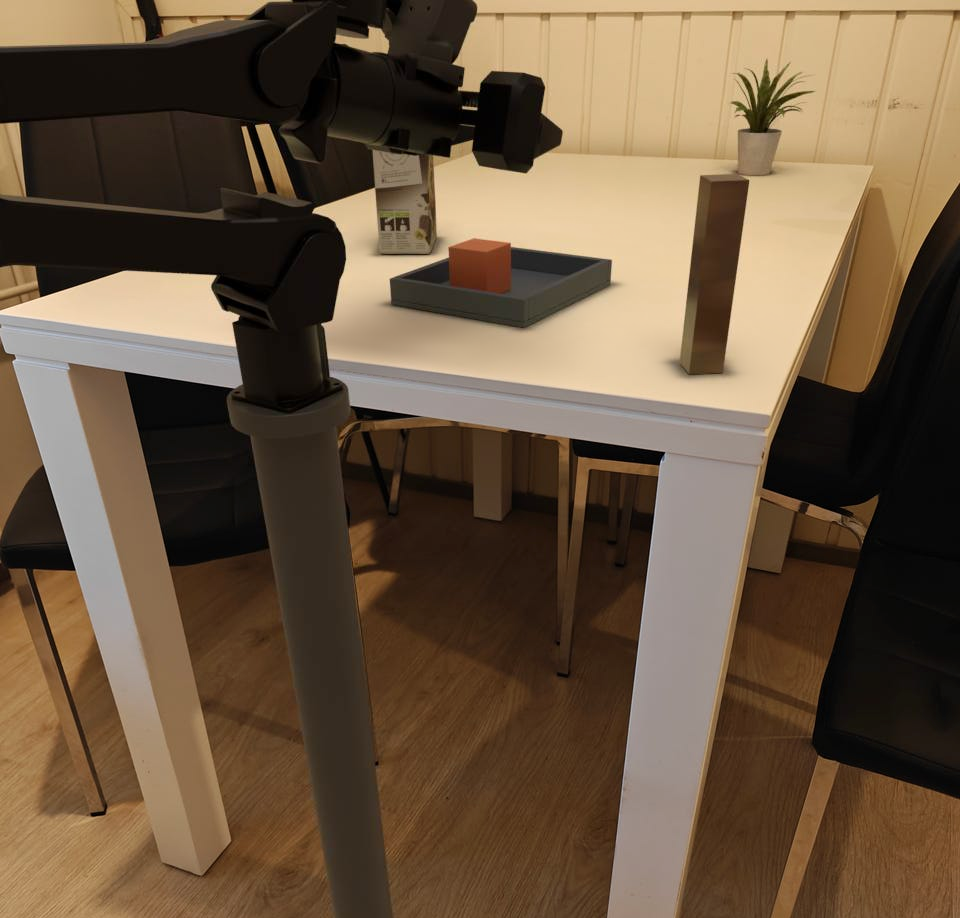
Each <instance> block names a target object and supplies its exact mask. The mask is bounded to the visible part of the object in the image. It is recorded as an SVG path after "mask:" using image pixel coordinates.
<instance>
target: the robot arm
mask: <svg viewBox="0 0 960 918" xmlns="http://www.w3.org/2000/svg"><path fill="white" fill-rule="evenodd" d="M477 13H478V4H477V3H476V2H475V0H287V1H268V2H266V3H265V4H263V5H262V6H261V7H259V8H258V9H256V10H254V12H252V13H251V14H249V15H248V16H246V17H244V19H222V20H215V21H211V22H207V23H203V24H199V25H196V26H192V27H187V28H184V29H181V30H178V31H173V32H172V33H169V34H166V35H164V36H161V37H158V38H154V39H151V40H146V41H143V42H116V43H111V42H110V43H79V44H41V45H40V44H39V45H5V46H2V45H1V46H0V125H1V124H2V125H4V124H19V123H31V122H32V123H33V122H44V121H46V122H47V121H59V120H72V119H73V120H74V119H86V118H87V119H88V118H100V117H114V116H115V117H116V116H127V115H129V116H130V115H143V114H144V115H145V114H156V113H157V114H158V113H159V114H160V113H171V112H181V113H188V114H195V115H201V116H209V117H216V118H222V119H230V120H237V121H245V122H252V123H259V124H264V125H265V124H266V125H273V126H280V127H279V128H278V133H279V135H280V136H281V137H282V138H283V139H284V141H285V142H286V145H287V147H288V150H289V152H290V153H291V156H292V158H293V159H295V160H299V161H304V162H310V163H315V164H323V163H325V162H326V160H327V149H328V147H327V146H328V137H331V138H337V139H342V140H347V141H352V142H358V143H360V144H364V145H365V146H366V147H365V148H367V150H370V151H372V150H376V151H381V152H387V153H394V154H400V155H403V154H406V155H413V156H417V155H421V154H426V155H433V157H434V156H435V157H442V158H447V159H451V154H452V153H451V152H452V147H453V146H457V145H460V144H465V143H468V142H470V141H472V146H471V152H472V154H473V157H474V158H475V161H476V163H477V166H478V167H483V168H489V169H494V170H500V171H506V172H511V173H519V174H528V173H529V172H530V170H531V169H532V168H533V167H534V162H535V160H536V159H538V158H539V157H541V156H543V155H545V154H546V153H548V152H550V151H552V150H555V149H556V148H558V147H560V146H561V145H562V141H563V139H562V138H563V135H564V134H563V133H564V131H563V129H562V128H560V126H558V125H557V124H556V123H554V122H553V121H552V120H551V119H550V118H548V116H546V115H545V114H544V113H542V111H543V105H544V98H545V92H546V86H545V82H544V81H543V79H542V77H540V76H537V75H533V74H530V73H526V72H524V71H523V72H520V71H504V70H491V71H490V72H489V73H488V74H487V75H486V76H485V77H484V78H483V79H482V80H481V82H480V83H479V90H478V91H473V90H472V91H471V90H459V88H463V85H464V78H465V71H466V68H465V67H464V66H462V65H461V66H460V65H457V64H454V63H455V62H456V61H457V59H458V57H459V56H460V53H461V50H462V47H463V45H464V43H465V40H466V38H467V35H468V32H469V29H470V27H471V24H472V23H474V22H475V20H476V17H477ZM370 28H372V29H380V30H381V32H382V34H383V35H384V38H385V39H386V40H387V41H388V50H387V52H386V53H385V52H381V51H368V50H363V49H360V48H356V47H353V46H349V45H345V44H341V43H337V42H336V39H337V36H341V37H347V38H353V39H363V40H366V39H369V37H370ZM463 107H464V108H463ZM468 108H475V109H468ZM219 192H220V198H221V206H222V208H219V209H215V210H211V211H207V212H199V213H198V212H188V211H187V212H185V211H177V210H167V209H166V210H165V209H157V208H144V207H136V206H124V205H115V204H114V205H113V204H104V203H94V202H84V201H83V202H82V201H73V200H64V199H54V198H53V199H52V198H44V197H43V198H42V197H31V196H22V195H21V196H20V195H13V194H11V195H10V194H2V193H1V194H0V269H1V268H5V267H11V266H12V267H13V266H21V267H22V266H24V267H25V266H27V267H42V268H43V267H45V268H61V269H62V268H64V269H82V270H83V269H84V270H100V271H101V270H102V271H103V270H104V271H120V272H121V271H123V272H141V273H142V272H144V273H162V274H163V273H164V274H181V275H182V274H183V275H198V276H199V275H201V276H202V275H203V276H215V278H213V281H212V282H211V283H210V284H211V285H210V288H211V291H212V293H213V295H214V297H215V299H216V300H217V302H218V304H219V306H220V308H221V310H222V311H224V312H228V313H232V314H235V315H237V316H238V317H237V318H238V319H237V320H235V321H232V322H231V324H232V331H233V335H234V337H233V338H234V342H235V347H236V353H237V359H238V365H239V366H238V367H239V370H240V377H241V382H242V384H243V388H240V389H238V390H235V391H233V392H231V391H230V392H231V398H232V399H233V400H236V401H240V402H244V403H248V404H251V405H255V406H259V407H263V408H267V409H270V410H274V411H278V412H282V413H286V414H290V413H294V412H296V411H298V410H301V409H303V408H305V407H307V406H309V405H311V404H313V403H316V402H318V401H320V400H322V399H324V398H326V397H329V396H331V395H333V394H335V393H337V392H339V391H341V390H343V383H344V382H343V383H341V382H337V381H333V380H328V378H329V377H331V373H330V365H329V355H328V346H327V340H326V339H327V338H326V330H325V327H324V326H323V325H322V324H325V323H326V324H327V323H329V322H332V321H333V319H334V315H335V309H336V306H337V305H336V303H337V299H338V294H339V293H338V292H339V288H340V281H341V278H342V277H343V274H344V272H345V269H346V264H347V263H346V262H347V249H346V243H345V240H344V237H343V234H342V232H341V231H340V229H339V228H338V226H337V223H336V222H335V220H333V219H331V218H330V217H328V216H325V215H322V214H320V213H315V212H314V211H315V209H316V203H314V202H313V201H312V202H311V201H307V200H302V199H299V198H293V197H290V196H285V195H280V194H276V193H271V192H267V191H263V192H261V193H258V194H255V195H254V194H251V193H247V192H241V191H238V190H233V189H230V188H225V187H221V188H220V191H219Z"/></svg>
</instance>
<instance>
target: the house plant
mask: <svg viewBox="0 0 960 918" xmlns="http://www.w3.org/2000/svg"><path fill="white" fill-rule="evenodd" d="M791 63H792V61H790V62H788V63H787V64H786V65H785V66H784V67H783V68H782V69H781V70H780V71H779V73H778V74H777V75H775V76H774V77H773V79H772V81H771V78H770V71H769V69H768V68H769V59H768V58H766V59H765V61H764V66H763V71H762V77H761V80H760V84H759V80H758V78H757V75H756V74H755V72H754V71H753V70H752V69H750V68H746V67H744V68H743V70H747V71H749V72H751V74H752V75H753V78H754V80H755V84H756V89H757V90H756V91H757V94H756V95H755V92H754V89H753V86H752V84H751V82H750V81H749V79H748V78H747V76H745V75H744V74H742V73H740V72H732V74H733V75H737V76H738V77H739V78H740V79H741V81H742V83H743V84H744V87H745V88H746V91H747V94H748V97H749V99H748V97H747V95H746V92H745V91H744V89H743V88H742V86H741V84H740V82H739V81H738V80H737V79H735V82H736V83H737V84H738V87H740V90H741V91H742V93H743V95H744V96H745V100H746V101H747V104H748V107H747V106H746V105H745V104H743V103H742V102H741V101H739V100H734V101H733V100H732V101H731V102H729V104H731V105H734V106H736V108H735V111H734V114H735V116H734V118H733V119H735V118H737V117H739V116H742V117H744V118H745V120H746V122H747V124H748V125H749V127H747V128H740V129H737V174H738V175H744V176H745V175H746V176H765V175H769V174H770V173H771V170H772V166H773V163H774V159H775V156H776V153H777V150H778V146H779V143H780V140H781V136H782V131H783V130H781V129H777V128H770V127H771V124H772V123H773V122H774V121H775V120H776V119H777V118H778V117H779V116H780V115H781V116H782V117H783V119H785V114H786V113H787V112H791V111H795V112H799V113H802V115H804V112H803V110H802V108H800V107H799V106H798V105H799V104H805V103H808V101H807V102H797V103H795V104H794V105H786V106H783V105H784V104H786V103H787V102H789V101H791V100H794V99H796V98H799V97H801V96H803V95H807V94H808V95H809V94H812V93H815V92H816V90H804V91H803V90H802V91H796V92H792V93H789V94H786V92H788V90H789V89H790V88H791V87H793V86H794V85H796V84H798V83H806V80H805V81H804V80H803V81H797V80H799V79H802V78H805V77H810V76H812V74H809V75H804V76H801V77H798V76H799V75H801V74H802V73H803V71H800V72H798V73H796V74H794V75H793V76H791V77H790V78H788V79H787V80H786V81H785V82H784V84H782V85H781V87H780V88H779V89H778V90H777V92H775V90H776V89H777V85H778V83H779V81H780V79H781V78H782V76H783V75H785V71H786V70H787V69H788V67H789V66H790V64H791ZM814 75H816V74H814ZM796 77H798V78H796ZM795 81H796V82H795ZM793 82H794V83H793ZM792 83H793V84H792ZM791 84H792V85H791ZM786 89H787V90H786ZM774 93H775V94H774ZM773 94H774V96H773ZM784 94H786V95H784ZM781 95H782V96H781ZM756 98H757V99H756ZM782 106H783V107H782ZM786 108H788V109H786ZM742 111H743V112H744V114H736V113H738V112H742Z"/></svg>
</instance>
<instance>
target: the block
mask: <svg viewBox="0 0 960 918" xmlns="http://www.w3.org/2000/svg"><path fill="white" fill-rule="evenodd" d="M511 247H512V243H511V242H507V241H500V240H499V241H498V240H491V239H482V238H475V237H474V238H471V239H468V240H465V241H462V242H459V243H456V244H453V245H450V246H448V258H449V274H450V286H455V287H461V288H467V289H474V290H480V291H487V292H493V293H499V294H502V293H504V292H506V291H509V290H511Z"/></svg>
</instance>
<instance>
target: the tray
mask: <svg viewBox="0 0 960 918" xmlns="http://www.w3.org/2000/svg"><path fill="white" fill-rule="evenodd" d="M612 267H613V260H612V259H610V258H601V257H594V256H588V255H587V256H586V255H578V254H571V253H570V254H569V253H564V252H563V253H562V252H554V251H548V250H539V249H532V248H531V249H530V248H523V247H515V246H511V290H509V291H506V292H504V293H502V294H499V293H493V292H487V291H480V290H474V289H467V288H461V287H455V286H450V274H449V257H446V258H443V259H440V260H437V261H434V262H432V263H428V264H427V265H424V266H421V267H418V268H415V269H413V270H410V271H407V272H404V273H401V274H399V275H396V276H393V277H391V278H389V291H390V292H389V293H390V304H391V305H392V306H398V307H404V308H409V309H415V310H421V311H425V312H432V313H437V314H438V313H439V314H443V315H449V316H456V317H460V318H467V319H471V320H478V321H484V322H489V323H495V324H502V325H506V326H512V327H518V328H527V327H528V326H530V325H532V324H535V323H536V322H538V321H541V320H542V319H544V318H546V317H548V316H551V315H552V314H554V313H556V312H559V311H560V310H562V309H564V308H566V307H568V306H570V305H572V304H575V303H576V302H579V301H580V300H582V299H585V298H586V297H588V296H590V295H592V294H594V293H596V292H598V291H601V290H604V289H605V288H606V287H609V286H610V285H612V284H611V283H612V282H611V281H612V280H611V279H612Z"/></svg>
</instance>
